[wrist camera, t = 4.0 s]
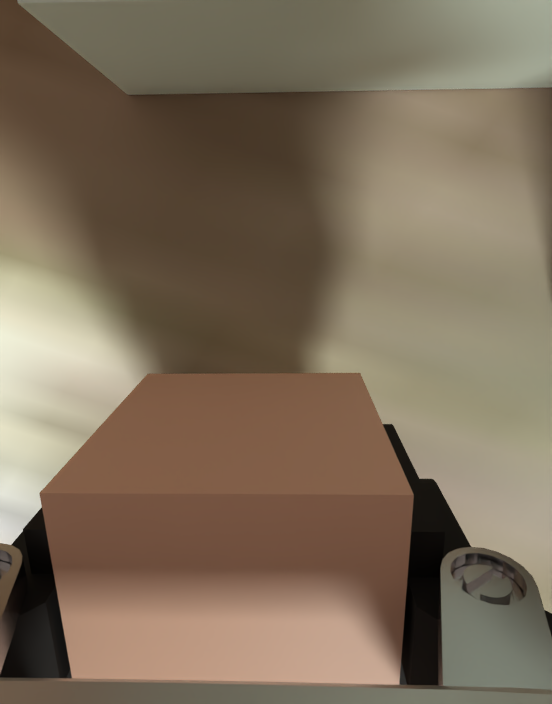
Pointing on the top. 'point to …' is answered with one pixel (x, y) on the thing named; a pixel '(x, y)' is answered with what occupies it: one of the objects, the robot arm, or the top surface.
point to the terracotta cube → (234, 534)
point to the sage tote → (306, 43)
